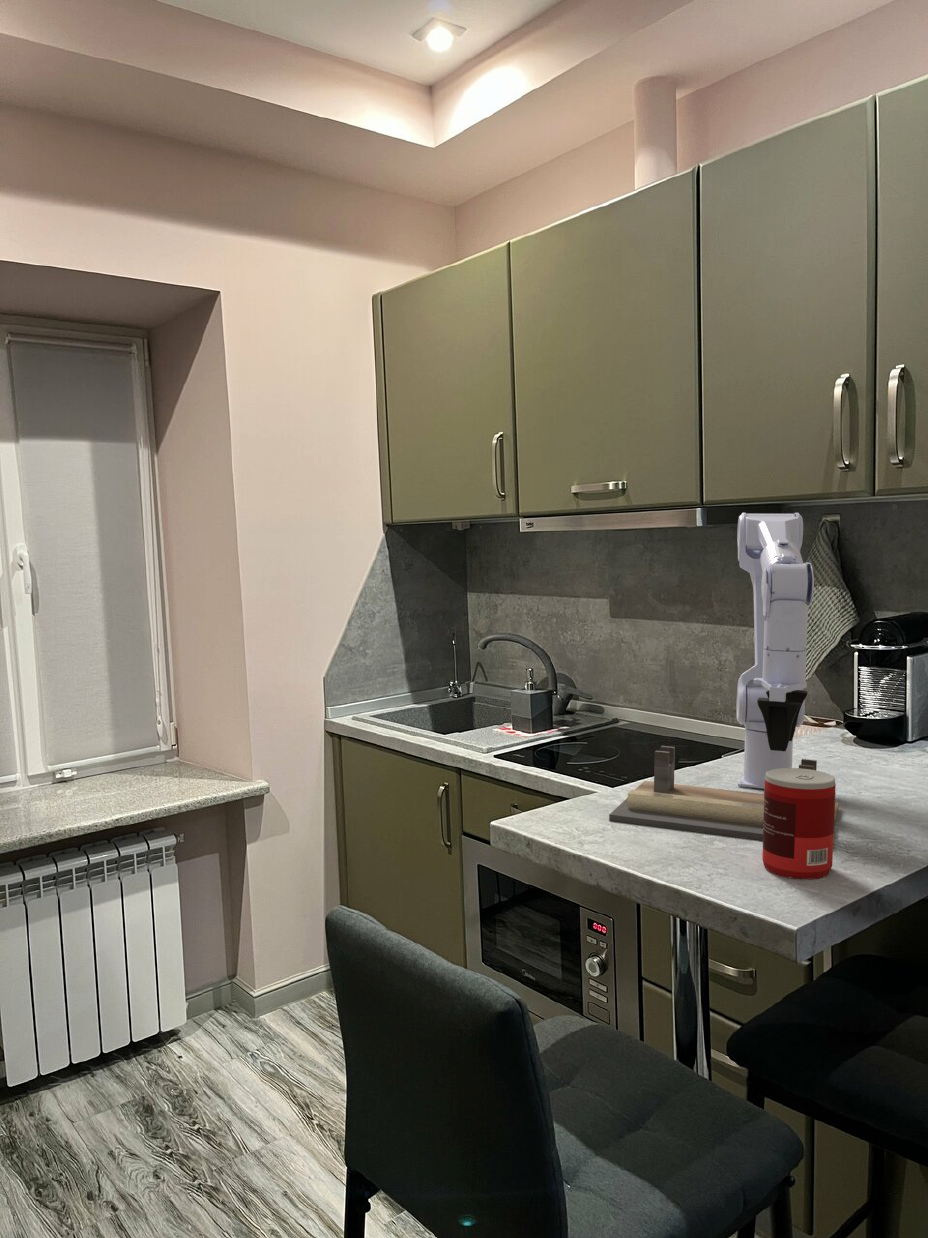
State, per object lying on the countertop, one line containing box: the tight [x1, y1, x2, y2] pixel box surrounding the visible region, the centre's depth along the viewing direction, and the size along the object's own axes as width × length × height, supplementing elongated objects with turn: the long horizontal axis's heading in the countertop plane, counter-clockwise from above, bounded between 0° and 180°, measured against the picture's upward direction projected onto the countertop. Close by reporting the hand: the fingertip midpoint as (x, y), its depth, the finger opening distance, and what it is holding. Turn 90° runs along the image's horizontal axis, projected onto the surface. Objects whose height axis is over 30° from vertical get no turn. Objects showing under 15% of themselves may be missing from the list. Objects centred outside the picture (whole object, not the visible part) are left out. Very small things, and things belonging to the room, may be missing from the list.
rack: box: [634, 745, 840, 827], centre depth 138 cm, size 9×28×7 cm, turn 66°
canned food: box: [761, 767, 837, 880], centre depth 110 cm, size 8×8×11 cm
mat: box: [608, 797, 763, 841], centre depth 129 cm, size 10×28×1 cm, turn 66°
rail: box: [627, 789, 764, 825], centre depth 128 cm, size 2×25×2 cm, turn 66°
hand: (781, 745), depth 135 cm, fingers open, 7 cm apart
